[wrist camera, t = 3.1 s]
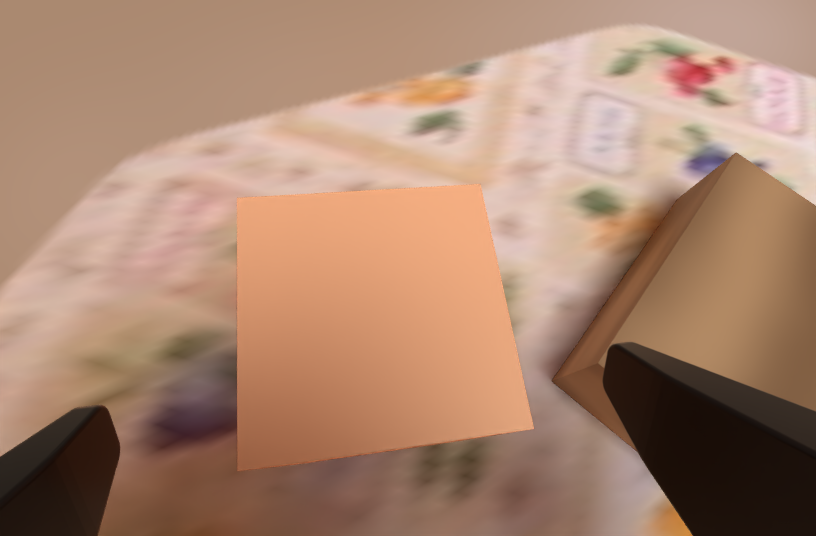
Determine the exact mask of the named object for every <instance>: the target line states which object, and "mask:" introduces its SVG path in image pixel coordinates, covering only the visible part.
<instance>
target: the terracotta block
mask: <svg viewBox="0 0 816 536" xmlns="http://www.w3.org/2000/svg"><path fill="white" fill-rule="evenodd" d="M531 429H534V426H533V421H532V417H531V412H530V408H529V403H528V399H527V394H526V389H525V385H524V380H523V376H522V371H521V367H520V362H519V358H518V353H517V349H516V344H515V340H514V335H513V330H512V326H511V321H510V317H509V312H508V308H507V303H506V299H505V294H504V290H503V285H502V280H501V276H500V271H499V267H498V262H497V258H496V253H495V249H494V244H493V240H492V235H491V230H490V226H489V221H488V217H487V212H486V208H485V203H484V199H483V194H482V190H481V185H480V184H473V185H456V186H438V187H420V188H403V189H385V190H368V191H350V192H332V193H315V194H297V195H280V196H262V197H245V198H237V471H245V470H253V469H262V468H270V467H279V466H287V465H296V464H303V463H310V462H317V461H324V460H331V459H338V458H345V457H352V456H359V455H366V454H373V453H380V452H387V451H394V450H401V449H408V448H415V447H422V446H429V445H436V444H443V443H449V442H455V441H462V440H468V439H474V438H480V437H487V436H493V435H499V434H505V433H512V432H518V431H524V430H531Z"/></svg>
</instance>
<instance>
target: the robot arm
mask: <svg viewBox="0 0 816 536" xmlns="http://www.w3.org/2000/svg"><path fill="white" fill-rule="evenodd" d="M602 383H603V388H604V391H605V393H606V395H607V396H608V398H609V400H610V402H611V404H612V406H613V408H614V409H615V411H616V413H617V415H618V417H619V419H620V420H621V422H622V424H623V426H624V428H625V430H626V432H627V433H628V435H629V437H630V439H631V441H632V443H633V445H634V446H635V448H636V450H637V452H638V453H639V455H640V457H641V459H642V460H643V462H644V463H645V465H646V467H647V468H648V470H649V471H650V473H651V474H652V476H653V477H654V479H655V480H656V482H657V483H658V485H659V486H660V488H661V489H662V491H663V492H664V494H665V495H666V497H667V498H668V500H669V501H670V502H671V504H672V505H673V507H674V508H675V510H676V511H677V513H678V514H679V516H680V517H681V519H682V520H683V522H684V523H685V525H686V526H687V528H688V529H689V531H690V532H691V534H692V535H693V536H816V411H814V410H811V409H809V408H806V407H804V406H801V405H798V404H796V403H793V402H790V401H788V400H785V399H782V398H780V397H777V396H775V395H772V394H769V393H767V392H764V391H761V390H759V389H756V388H753V387H751V386H748V385H746V384H743V383H740V382H738V381H735V380H732V379H730V378H727V377H724V376H722V375H719V374H717V373H714V372H711V371H709V370H706V369H703V368H701V367H698V366H695V365H693V364H690V363H688V362H685V361H682V360H680V359H677V358H674V357H672V356H669V355H666V354H664V353H661V352H658V351H656V350H653V349H651V348H648V347H645V346H643V345H640V344H637V343H635V342H621V343H614V344H612V345H610V347H609V348H608V351H607V356H606V361H605V367H604V372H603V378H602ZM119 456H120V443H119V439H118V436H117V434H116V431H115V428H114V425H113V422H112V419H111V416H110V413H109V411H108V409H107V408H106V407H105V406H103V405H92V406H84V407H77V408H74V409H73V410H71V411H69V412H68V413H66V414H65V415H63V416H62V417H60V418H59V419H57V420H56V421H54V422H53V423H51V424H50V425H48V426H46V427H45V428H43V429H42V430H40V431H39V432H37V433H36V434H34V435H33V436H31V437H30V438H28V439H27V440H25V441H24V442H22V443H21V444H19V445H17V446H16V447H14V448H13V449H11V450H10V451H8V452H7V453H5V454H4V455H2V456H1V457H0V536H98V532H99V529H100V525H101V522H102V518H103V514H104V511H105V507H106V504H107V500H108V496H109V493H110V489H111V486H112V482H113V478H114V475H115V471H116V468H117V464H118V460H119Z"/></svg>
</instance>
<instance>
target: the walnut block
mask: <svg viewBox="0 0 816 536" xmlns="http://www.w3.org/2000/svg"><path fill="white" fill-rule="evenodd" d="M621 342H635V343H637V344H640V345H643V346H645V347H648V348H651V349H653V350H656V351H658V352H661V353H664V354H666V355H669V356H672V357H674V358H677V359H680V360H682V361H685V362H688V363H690V364H693V365H695V366H698V367H701V368H703V369H706V370H709V371H711V372H714V373H717V374H719V375H722V376H724V377H727V378H730V379H732V380H735V381H738V382H740V383H743V384H746V385H748V386H751V387H753V388H756V389H759V390H761V391H764V392H767V393H769V394H772V395H775V396H777V397H780V398H782V399H785V400H788V401H790V402H793V403H796V404H798V405H801V406H804V407H806V408H809V409H811V410H814V411H816V206H815V205H814V204H812V203H811V202H809V201H808V200H806V199H805V198H803V197H802V196H800V195H799V194H797V193H796V192H794V191H793V190H791V189H790V188H788V187H787V186H785V185H784V184H783V183H781V182H780V181H778V180H777V179H775V178H774V177H772V176H771V175H769V174H768V173H766V172H765V171H763V170H762V169H760V168H759V167H757V166H756V165H754V164H753V163H751V162H750V161H748V160H747V159H745V158H744V157H742V156H741V155H739V154H738V153H735V154H734V155H732V156H731V157H730V158H729V159H727V160H726V161H725V162H724V163H722V164H721V165H720V166H718V167H717V168H716V169H715V170H713V171H712V172H711V173H710V174H708V175H707V176H706V177H705V178H703V179H702V180H701V181H700V182H698V183H697V184H696V185H695V186H693V187H692V188H691V189H690V190H688V191H687V192H686V193H685V194H683V195H682V196H681V197H680V198H678V199H677V200H676V202H675V203H674V205H673V206H672V208H671V209H670V210H669V212H668V213H667V215H666V216H665V218H664V219H663V221H662V222H661V224H660V225H659V226H658V228H657V229H656V231H655V232H654V234H653V235H652V237H651V238H650V239H649V241H648V242H647V244H646V245H645V247H644V248H643V250H642V251H641V252H640V254H639V255H638V257H637V258H636V260H635V261H634V263H633V264H632V265H631V267H630V268H629V270H628V271H627V273H626V274H625V276H624V277H623V278H622V280H621V281H620V283H619V284H618V286H617V287H616V289H615V290H614V291H613V293H612V294H611V296H610V297H609V299H608V300H607V302H606V303H605V305H604V306H603V307H602V309H601V310H600V312H599V313H598V315H597V316H596V318H595V319H594V320H593V322H592V323H591V325H590V326H589V328H588V329H587V331H586V332H585V333H584V335H583V336H582V338H581V339H580V341H579V342H578V344H577V345H576V346H575V348H574V349H573V351H572V352H571V354H570V355H569V357H568V358H567V359H566V361H565V362H564V364H563V365H562V367H561V368H560V370H559V371H558V372H557V374H556V375H555V377H554V378H553V380H552V382H553V383H554V384H556V385H557V386H558V387H559V388H561V389H562V390H563V391H564V392H565V393H567V394H568V395H569V396H570V397H571V398H573V399H574V400H575V401H576V402H578V403H579V404H580V405H581V406H582V407H584V408H585V409H586V410H587V411H588V412H590V413H591V414H592V415H593V416H595V417H596V418H597V419H598V420H599V421H601V422H602V423H603V424H604V425H605V426H607V427H608V428H609V429H610V430H611V431H613V432H614V433H615V434H616V435H618V436H619V437H620V438H621V439H622V440H624V441H625V442H626V443H627V444H628V445H630V446H631V447H632V448H633V449H635V450H636V448H635V446H634V445H633V443H632V441H631V439H630V437H629V435H628V433H627V432H626V430H625V428H624V426H623V424H622V422H621V420H620V419H619V417H618V415H617V413H616V411H615V409H614V408H613V406H612V404H611V402H610V400H609V398H608V396H607V395H606V393H605V391H604V388H603V383H602V378H603V372H604V367H605V361H606V356H607V351H608V348H609V347H610V345H612V344H614V343H621ZM636 451H637V450H636Z"/></svg>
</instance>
